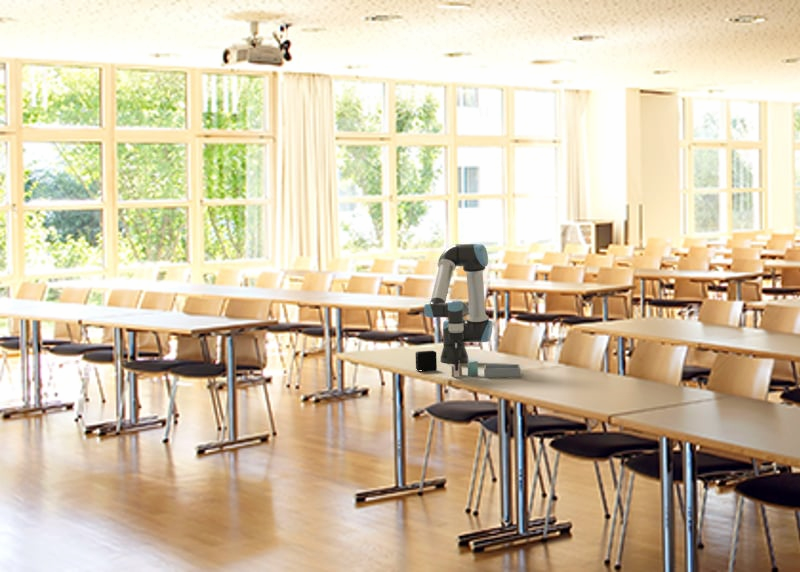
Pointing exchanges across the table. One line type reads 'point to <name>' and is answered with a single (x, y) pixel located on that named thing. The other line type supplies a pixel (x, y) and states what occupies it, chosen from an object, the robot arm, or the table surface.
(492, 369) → the tote
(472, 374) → the teal cylinder
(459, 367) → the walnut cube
